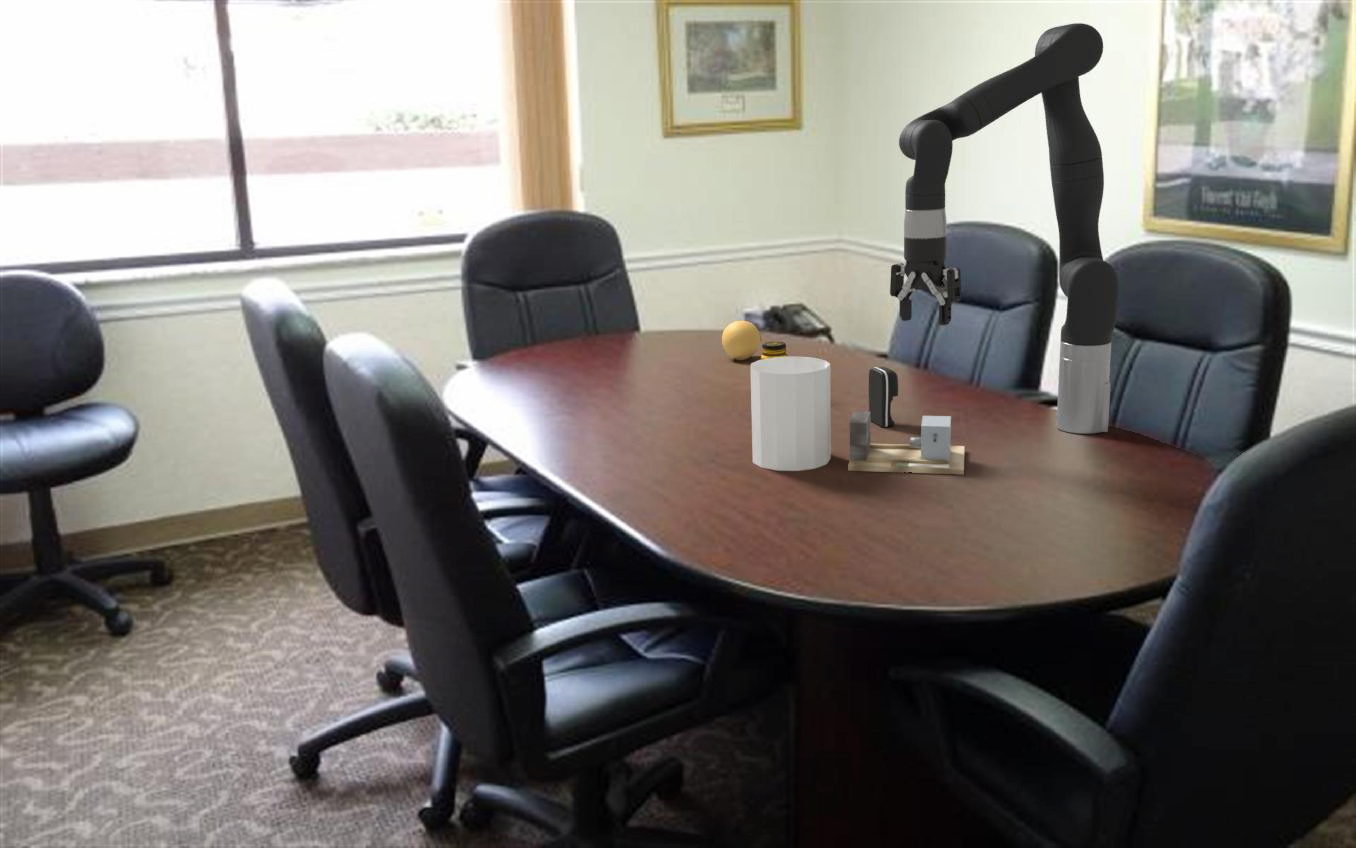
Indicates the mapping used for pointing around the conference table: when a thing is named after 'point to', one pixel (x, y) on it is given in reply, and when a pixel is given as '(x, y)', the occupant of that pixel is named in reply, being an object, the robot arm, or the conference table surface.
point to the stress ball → (741, 339)
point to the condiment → (773, 350)
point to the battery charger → (882, 395)
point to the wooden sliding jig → (894, 453)
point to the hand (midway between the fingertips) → (924, 322)
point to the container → (791, 413)
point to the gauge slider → (934, 438)
